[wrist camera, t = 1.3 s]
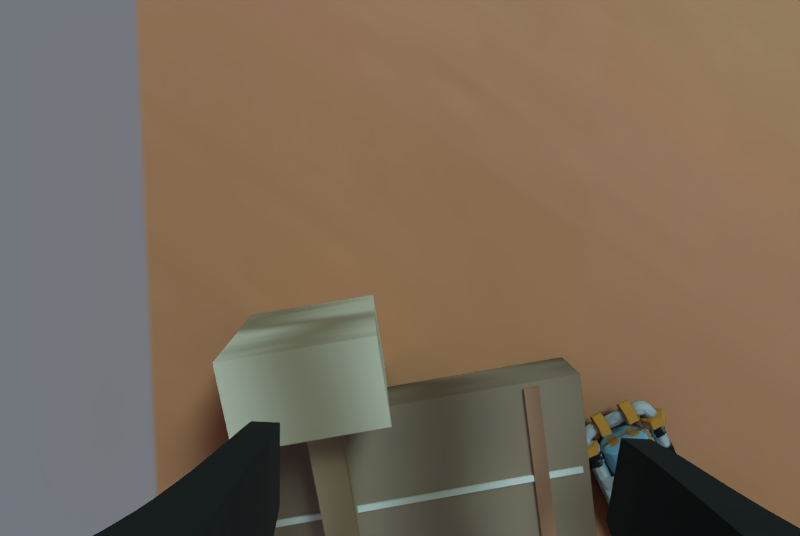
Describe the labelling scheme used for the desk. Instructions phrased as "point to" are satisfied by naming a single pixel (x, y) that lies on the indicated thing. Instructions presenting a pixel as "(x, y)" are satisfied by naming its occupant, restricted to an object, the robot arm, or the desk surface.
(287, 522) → the brown flat block
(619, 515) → the robot arm
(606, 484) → the flamethrower
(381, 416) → the joiner mallet
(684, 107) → the desk surface
